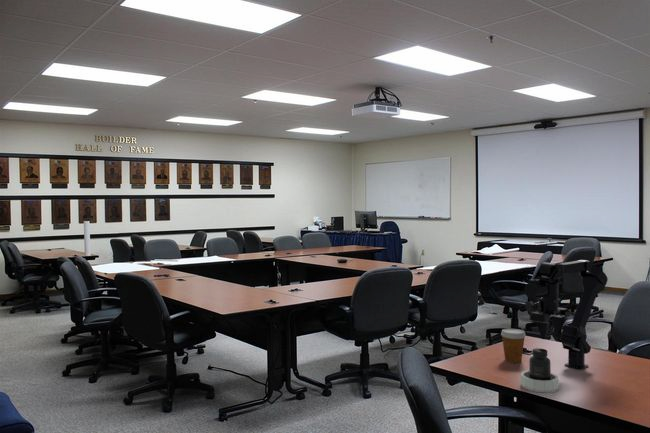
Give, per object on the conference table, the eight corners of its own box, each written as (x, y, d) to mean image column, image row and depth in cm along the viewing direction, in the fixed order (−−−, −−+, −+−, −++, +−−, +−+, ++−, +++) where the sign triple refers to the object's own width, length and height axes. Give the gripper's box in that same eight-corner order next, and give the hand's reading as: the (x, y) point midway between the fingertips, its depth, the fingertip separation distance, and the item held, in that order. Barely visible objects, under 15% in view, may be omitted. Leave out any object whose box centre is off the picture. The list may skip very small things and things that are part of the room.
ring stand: (533, 378, 193) (533, 368, 193) (565, 387, 183) (565, 376, 183) (513, 385, 186) (513, 374, 186) (546, 395, 176) (546, 383, 176)
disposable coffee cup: (495, 358, 219) (495, 329, 219) (514, 356, 222) (514, 327, 222) (511, 364, 210) (511, 334, 210) (530, 362, 214) (530, 332, 213)
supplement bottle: (555, 385, 183) (555, 350, 183) (541, 388, 180) (541, 353, 180) (538, 380, 189) (538, 346, 189) (525, 383, 186) (525, 348, 186)
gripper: (543, 291, 213) (543, 329, 213) (516, 295, 202) (516, 336, 202) (570, 294, 204) (570, 335, 205) (544, 299, 193) (544, 342, 193)
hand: (549, 337), depth 201 cm, fingers open, 9 cm apart
